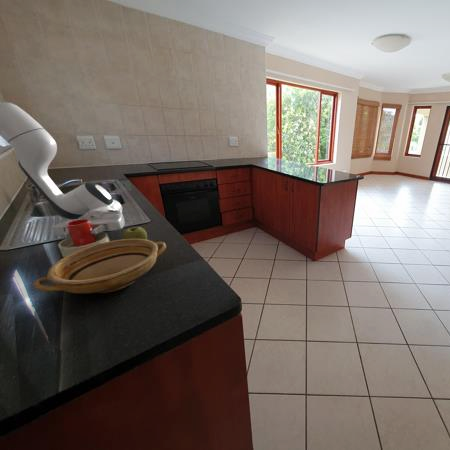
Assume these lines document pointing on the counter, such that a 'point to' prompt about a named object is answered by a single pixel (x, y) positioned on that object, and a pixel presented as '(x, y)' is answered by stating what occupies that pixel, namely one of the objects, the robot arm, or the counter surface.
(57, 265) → the wicker basket
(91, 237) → the fries cup
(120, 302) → the counter surface
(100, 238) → the serving bowl
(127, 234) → the apple
